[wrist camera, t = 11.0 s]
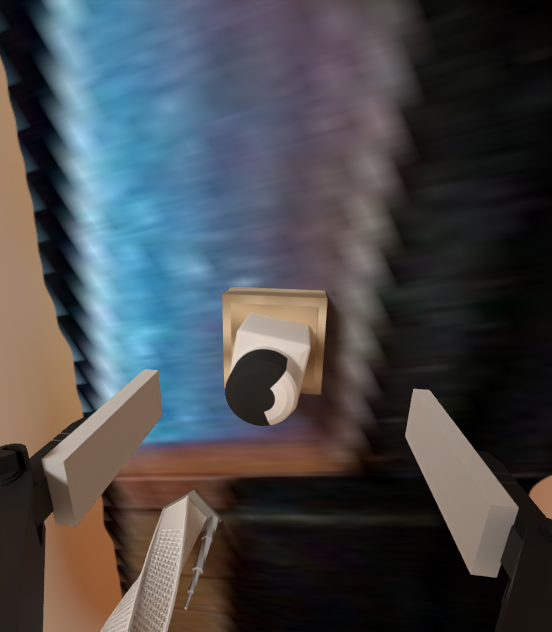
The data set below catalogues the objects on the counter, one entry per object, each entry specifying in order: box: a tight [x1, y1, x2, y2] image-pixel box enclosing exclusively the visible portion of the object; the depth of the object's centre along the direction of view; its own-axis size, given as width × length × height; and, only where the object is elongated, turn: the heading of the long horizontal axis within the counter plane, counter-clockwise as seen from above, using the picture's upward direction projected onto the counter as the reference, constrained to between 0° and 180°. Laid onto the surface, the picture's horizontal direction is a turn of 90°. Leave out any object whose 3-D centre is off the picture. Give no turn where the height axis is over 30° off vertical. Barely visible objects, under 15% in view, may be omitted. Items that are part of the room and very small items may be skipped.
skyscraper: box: [100, 489, 222, 632], centre depth 37 cm, size 8×8×28 cm
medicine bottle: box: [225, 313, 311, 426], centre depth 30 cm, size 7×7×12 cm
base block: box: [222, 287, 328, 395], centre depth 39 cm, size 12×12×5 cm
